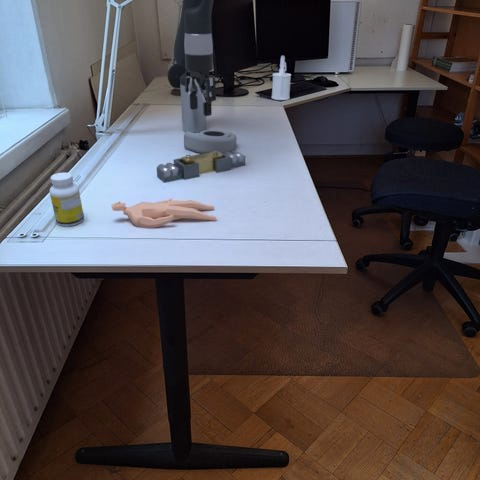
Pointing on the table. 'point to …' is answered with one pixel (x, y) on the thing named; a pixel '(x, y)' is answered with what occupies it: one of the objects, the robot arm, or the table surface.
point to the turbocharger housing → (210, 141)
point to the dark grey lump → (176, 78)
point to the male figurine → (163, 212)
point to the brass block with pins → (203, 161)
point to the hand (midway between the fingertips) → (200, 112)
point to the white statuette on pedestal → (281, 83)
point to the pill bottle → (66, 200)
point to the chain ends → (192, 170)
